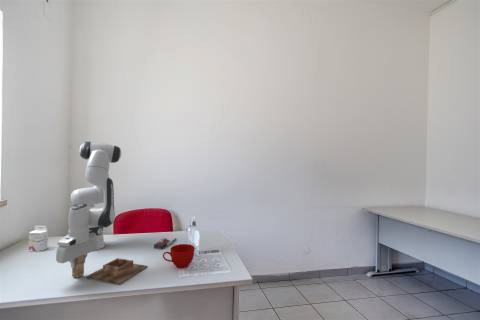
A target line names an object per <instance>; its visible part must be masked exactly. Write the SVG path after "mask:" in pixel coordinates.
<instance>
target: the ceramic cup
mask: <svg viewBox="0 0 480 320" xmlns="http://www.w3.org/2000/svg"><path fill="white" fill-rule="evenodd" d="M170 247H171V248H170V252H169V251H164V252H163V253H162V258H163V259H164V260H165V262H166V261H167V262H169V263H173V265H174V266H175V267H176V268H177V269H186V268H188V267H189V266H190V265H191V263H193V260H194V256H195V249H196V248H195V246H194V245H192V244H188V243H179V244H176V245H175V244H174V245H172V246H170ZM167 254H168V255H170V259H167V258H166V256H165V255H167Z"/></svg>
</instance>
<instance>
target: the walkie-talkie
mask: <svg viewBox="0 0 480 320" xmlns="http://www.w3.org/2000/svg"><path fill="white" fill-rule="evenodd" d="M175 241H177V238H173V240H170V239H167V238H166V237H163V238H161V239H160V240H158V241H157V242H155V243H154V244H153V248H154V249H158V250H163V249H165V248H166V247H171V245H172V246H173V244H174V242H175Z"/></svg>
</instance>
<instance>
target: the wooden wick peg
mask: <svg viewBox="0 0 480 320" xmlns="http://www.w3.org/2000/svg"><path fill="white" fill-rule="evenodd" d="M74 263H76V267H74V268H72V267H71V269H72V270H71V276H72V277H74V278H77V279H78V278H79V277H82V276H84V275H85V263H84V254H83V255H81V256H79V257H77V258H75V261H74Z"/></svg>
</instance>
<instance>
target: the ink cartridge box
mask: <svg viewBox="0 0 480 320" xmlns="http://www.w3.org/2000/svg"><path fill="white" fill-rule="evenodd" d="M48 235H49V230H48V225H34V230H32V231H29V232H28V251H29V250H31V249H32V250H44V251H45V249H46V250H47V249H48V247H49V246H48V242H49V240H48V239H49V238H48V237H49V236H48Z"/></svg>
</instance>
